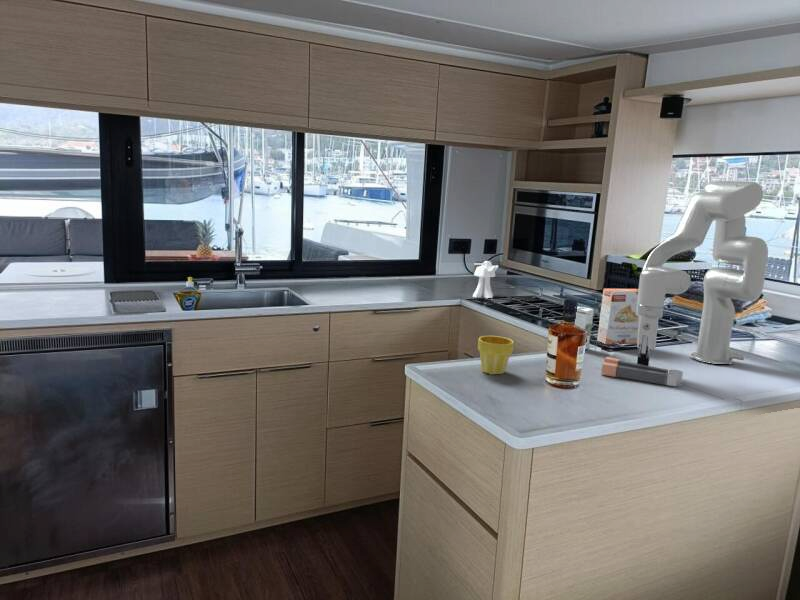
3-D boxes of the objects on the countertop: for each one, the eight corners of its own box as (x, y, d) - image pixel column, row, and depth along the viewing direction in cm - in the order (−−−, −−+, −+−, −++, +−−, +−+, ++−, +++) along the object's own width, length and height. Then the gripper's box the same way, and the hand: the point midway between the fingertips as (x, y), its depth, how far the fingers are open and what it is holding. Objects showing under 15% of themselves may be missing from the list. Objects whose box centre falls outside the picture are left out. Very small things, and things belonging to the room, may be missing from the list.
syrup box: (573, 345, 213) (577, 305, 210) (589, 349, 209) (594, 308, 206) (566, 348, 208) (571, 307, 206) (583, 352, 205) (587, 310, 202)
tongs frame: (680, 384, 174) (682, 370, 174) (680, 388, 170) (682, 375, 169) (603, 371, 183) (604, 358, 183) (601, 375, 179) (602, 362, 178)
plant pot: (518, 372, 177) (520, 341, 176) (496, 379, 170) (499, 346, 169) (490, 364, 185) (492, 333, 183) (468, 370, 178) (471, 338, 176)
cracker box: (605, 349, 210) (612, 290, 206) (595, 344, 215) (602, 287, 211) (639, 348, 213) (647, 290, 210) (629, 344, 219) (636, 287, 215)
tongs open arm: (667, 379, 178) (668, 368, 177) (665, 381, 175) (666, 370, 175) (606, 366, 188) (607, 356, 187) (603, 368, 185) (604, 358, 185)
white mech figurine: (464, 295, 303) (466, 260, 299) (484, 293, 310) (487, 259, 307) (479, 299, 293) (482, 263, 290) (500, 298, 300) (503, 262, 297)
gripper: (661, 316, 171) (653, 378, 175) (664, 308, 184) (656, 365, 188) (633, 313, 174) (626, 373, 178) (638, 305, 187) (631, 361, 191)
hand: (642, 369), depth 183 cm, fingers closed
